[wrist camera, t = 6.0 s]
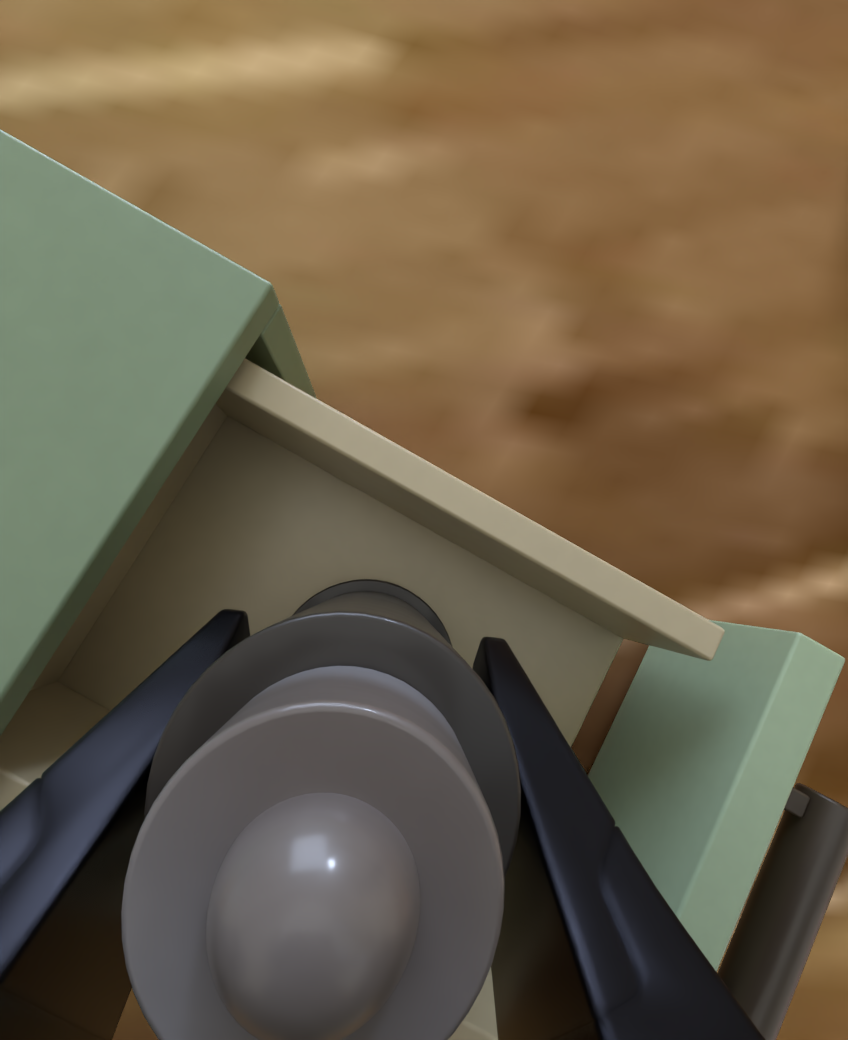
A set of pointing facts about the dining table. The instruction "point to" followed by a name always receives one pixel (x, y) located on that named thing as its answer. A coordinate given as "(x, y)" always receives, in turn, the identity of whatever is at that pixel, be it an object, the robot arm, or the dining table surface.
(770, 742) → the drawer
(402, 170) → the dining table surface
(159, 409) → the cabinet
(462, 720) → the pepper mill
